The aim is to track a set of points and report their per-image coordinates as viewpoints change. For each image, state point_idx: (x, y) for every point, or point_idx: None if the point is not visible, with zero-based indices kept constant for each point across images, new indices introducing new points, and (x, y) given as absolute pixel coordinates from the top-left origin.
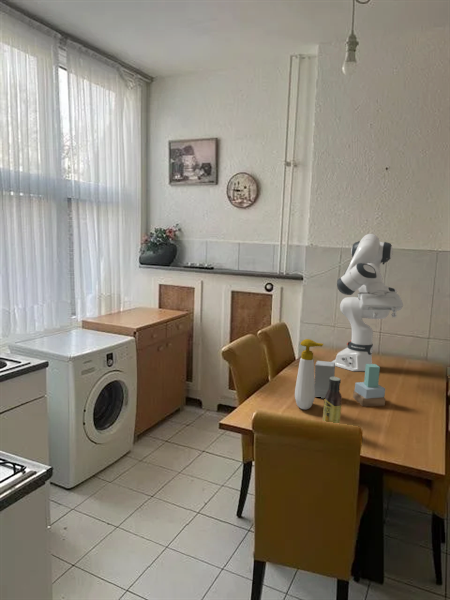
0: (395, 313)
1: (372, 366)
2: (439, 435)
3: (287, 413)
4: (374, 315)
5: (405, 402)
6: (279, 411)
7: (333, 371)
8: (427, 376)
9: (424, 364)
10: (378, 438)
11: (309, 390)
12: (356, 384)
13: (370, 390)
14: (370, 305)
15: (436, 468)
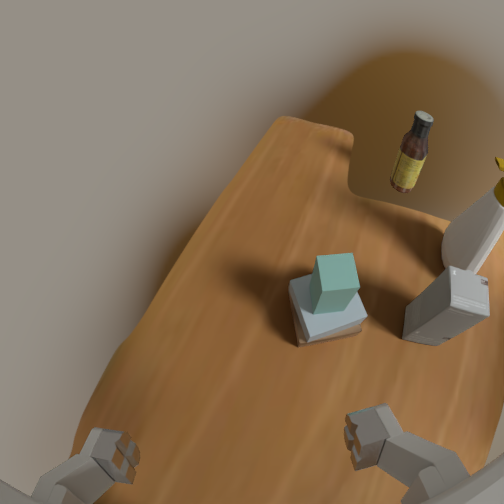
0: (91, 444)
1: (340, 260)
2: (232, 180)
3: None
4: (382, 404)
5: (224, 320)
6: None
7: (441, 273)
8: None
9: None
10: (333, 164)
11: (459, 215)
12: (364, 310)
13: None
14: (482, 475)
15: (279, 119)
